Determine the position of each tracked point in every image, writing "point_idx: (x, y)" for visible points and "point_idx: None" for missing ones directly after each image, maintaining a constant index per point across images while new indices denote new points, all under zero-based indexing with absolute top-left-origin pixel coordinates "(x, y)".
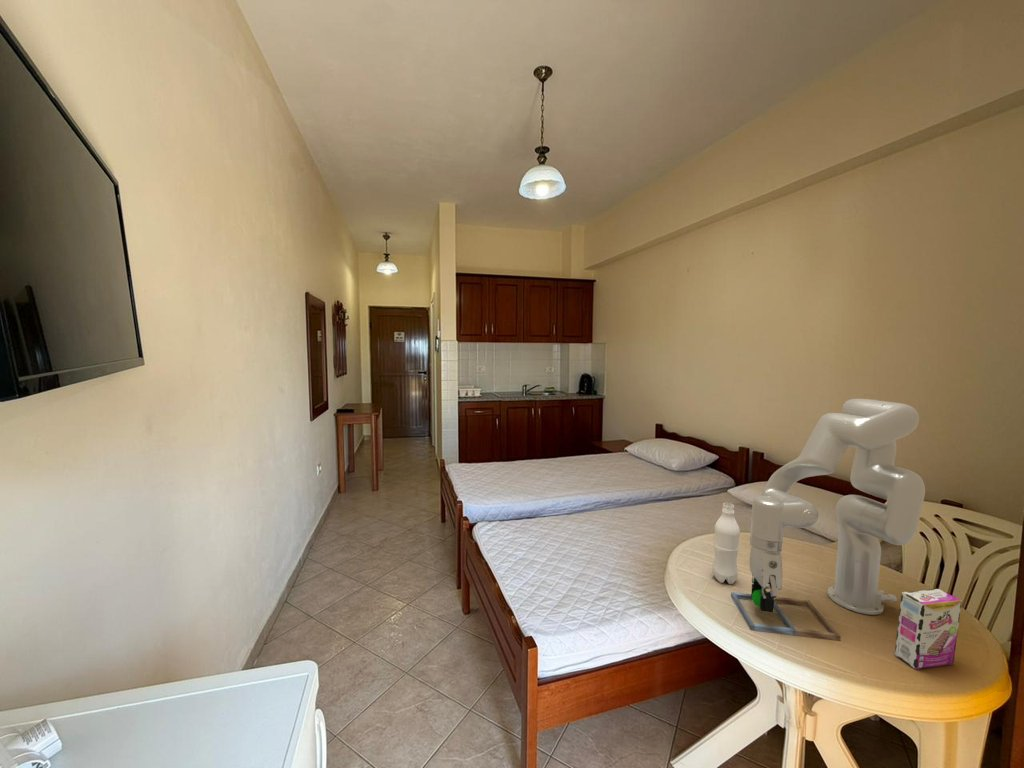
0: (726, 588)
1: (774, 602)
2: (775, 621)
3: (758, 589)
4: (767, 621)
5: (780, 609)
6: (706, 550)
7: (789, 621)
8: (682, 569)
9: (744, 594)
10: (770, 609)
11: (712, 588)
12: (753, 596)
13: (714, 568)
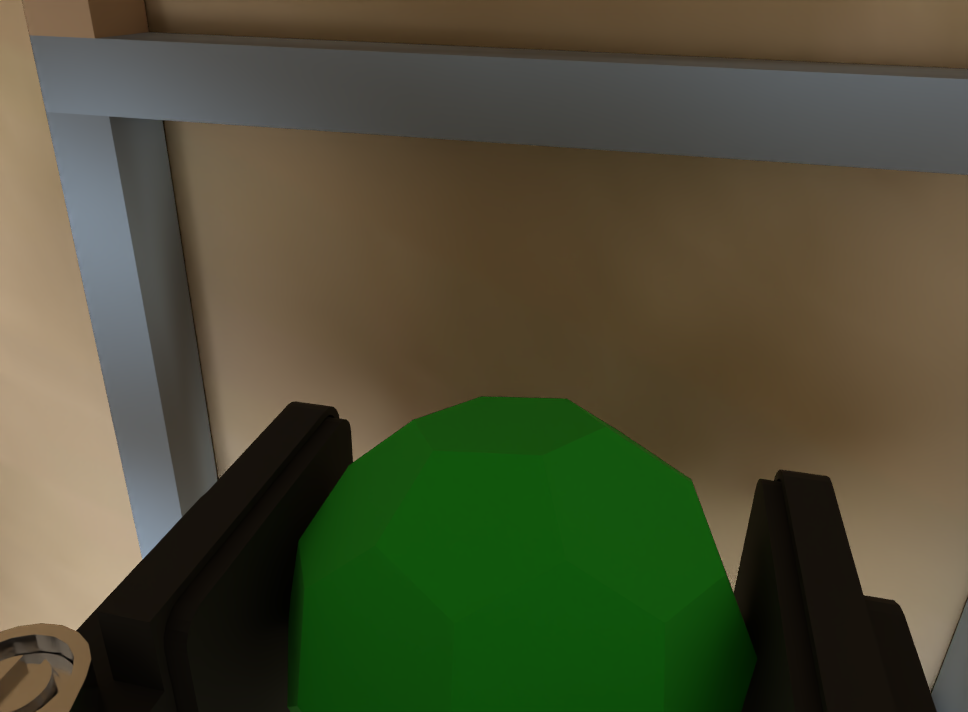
0: (32, 563)
1: (236, 76)
2: (757, 284)
3: (252, 670)
4: (761, 420)
5: (471, 68)
6: None
7: (930, 89)
8: None
9: (154, 497)
10: (891, 619)
11: None
12: None
13: None
